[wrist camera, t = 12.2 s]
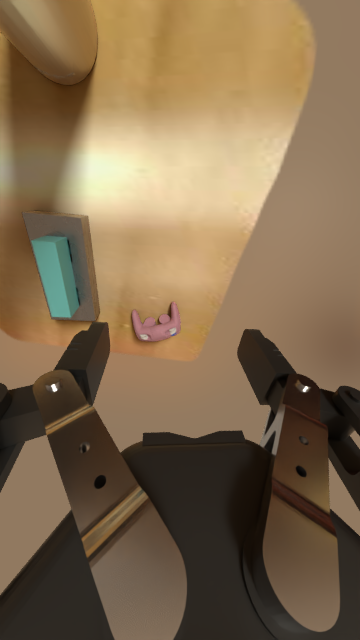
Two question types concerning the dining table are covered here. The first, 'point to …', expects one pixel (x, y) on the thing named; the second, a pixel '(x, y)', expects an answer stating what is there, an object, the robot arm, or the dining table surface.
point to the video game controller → (157, 326)
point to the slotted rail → (81, 256)
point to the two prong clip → (57, 274)
